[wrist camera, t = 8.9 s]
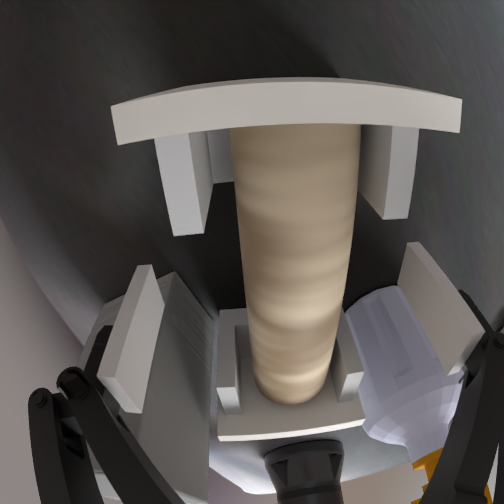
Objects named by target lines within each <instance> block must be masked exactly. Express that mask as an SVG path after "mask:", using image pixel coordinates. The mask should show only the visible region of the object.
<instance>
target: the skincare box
mask: <svg viewBox="0 0 504 504" xmlns="http://www.w3.org/2000/svg"><path fill="white" fill-rule="evenodd" d="M157 283H158V286H159V289H160V292H161V295H162V298H163V301H164V304H165V306H164V311H163V315H162V319H161V323H160V327H159V332H158V336H157V340H156V345H155V350H154V354H153V359H152V364H151V368H150V373H149V378H148V383H147V389H146V394H145V399H144V405H143V410H142V413H131V412H125V411H124V410H123V408H122V407H121V406H120V409H119V415H120V416H121V417H122V419H123V420H124V422H125V423H126V425H127V427H128V428H129V430H130V431H131V433H132V434H133V436H134V437H135V439H136V440H137V442H138V443H139V445H140V446H141V448H142V449H143V450H144V452H145V453H146V455H147V456H148V457H149V459H150V460H151V462H152V463H153V464H154V466H155V467H156V468H157V469H158V471H159V472H160V473H161V475H162V476H163V477H164V478H165V480H166V481H167V482H168V483H169V485H170V486H171V487H172V488H173V490H174V491H175V492H176V493H177V494H178V495H179V497H180V498H181V499H182V500H183V501H184V502H185V504H208V474H209V432H210V402H211V380H212V358H213V339H214V321H213V320H212V319H211V317H210V316H209V315H208V314H207V312H206V311H205V310H204V309H203V307H202V306H201V305H200V303H199V302H198V301H197V299H196V298H195V297H194V296H193V294H192V293H191V291H190V290H189V289H188V287H187V286H186V285H185V283H184V282H183V281H182V279H181V278H180V277H179V275H178V274H177V273H176V272H171V273H169V274H167V275H165V276H163V277H161V278H159V279H157ZM125 295H126V294H125ZM125 295H122V296H120V297H118V298H116V299H114V300H112V301H110V302H108V303H106V304H104V305H103V307H102V309H101V311H100V313H99V316H98V318H97V320H96V322H95V324H94V326H93V329H92V331H91V333H90V335H89V337H88V340H87V342H86V344H85V347H84V349H83V351H82V354H81V356H80V358H79V361H78V363H77V366H76V367H79V368H81V369H82V370H83V371H84V369H85V366H86V363H87V360H88V357H89V355H90V352H91V349H92V347H93V345H94V341H95V339H96V336H97V334H98V332H99V331H100V330H101V329H102V328H103V326H104V325H114V323H115V321H116V318H117V315H118V313H119V310H120V307H121V305H122V302H123V300H124V297H125ZM86 443H87V441H86ZM87 448H88V452H89V456H90V460H91V463H92V467H93V471H94V474H95V477H96V481H97V484H98V487H99V490H100V493H101V496H103V497H106V498H109V499H113V500H121V499H120V498H119V496H118V495H117V493H116V492H115V490H114V489H113V487H112V485H111V484H110V482H109V480H108V479H107V477H106V475H105V474H104V472H103V470H102V469H101V467H100V465H99V463H98V462H97V460H96V458H95V456H94V454H93V452H92V450H91V449H90V447H89V445H88V443H87Z"/></svg>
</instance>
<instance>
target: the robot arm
mask: <svg viewBox="0 0 504 504" xmlns="http://www.w3.org/2000/svg"><path fill="white" fill-rule="evenodd" d="M397 284H398V286H399V288H400V289H401V291H402V293H403V294H404V296H405V298H406V299H407V301H408V303H409V305H410V306H411V308H412V310H413V312H414V313H415V315H416V317H417V319H418V320H419V322H420V324H421V326H422V328H423V330H424V331H425V333H426V335H427V337H428V339H429V341H430V343H431V345H432V347H433V349H434V350H435V352H436V354H437V356H438V358H439V360H440V362H441V364H442V366H443V369H444V371H445V373H446V375H447V376H448V375H451V374H454V373H457V372H460V370H461V369H462V367H463V366H464V364H466V366H467V368H468V369H467V370H466V372H465V373H464V374H463V376H462V377H461V379H460V380H459V382H458V383H459V384H460V383H461V382H462V380H463V379H464V380H463V384H462V388H461V392H460V396H459V400H458V404H457V407H456V411H455V414H454V417H453V421H452V424H451V427H450V430H449V433H448V436H447V439H446V442H445V444H444V447H443V450H442V452H441V455H440V458H439V460H438V463H437V465H436V468H435V470H434V472H433V475H432V477H431V479H430V481H429V484H428V486H427V488H426V490H425V492H424V494H423V496H422V498H421V500H420V502H419V503H418V504H487V503H488V500H487V497H486V496H485V495H484V491H485V488H486V485H487V482H488V479H489V475H490V472H491V469H492V466H493V462H494V458H495V455H496V451H497V447H498V443H499V449H498V451H499V452H498V466H497V476H496V485H495V493H494V500H493V504H504V334H503V333H501V332H494V331H493V330H492V328H491V327H490V325H489V324H488V322H487V321H486V319H485V318H484V316H483V315H482V313H481V312H480V311H479V310H478V308H477V306H476V305H474V302H473V301H472V299H471V298H470V296H469V295H467V294H466V293H465V292H464V291H462V290H456V288H455V287H454V285H453V284H452V283H451V281H450V280H449V279H448V278H447V276H446V275H445V274H444V272H443V271H442V270H441V268H440V267H439V266H438V265H437V263H436V262H435V261H434V260H433V258H432V257H431V256H430V255H429V254H428V252H427V251H426V250H425V249H424V247H423V246H422V245H421V244H420V243H419V242H411V243H407V246H406V250H405V254H404V258H403V263H402V267H401V270H400V274H399V278H398V282H397ZM164 306H165V304H164V301H163V298H162V295H161V292H160V289H159V286H158V283H157V280H156V277H155V274H154V271H153V268H152V264H150V265H138V266H137V268H136V270H135V273H134V275H133V278H132V280H131V282H130V285H129V287H128V290H127V292H126V295H125V297H124V300H123V302H122V305H121V307H120V310H119V313H118V315H117V318H116V321H115V323H114V325H104V326H103V328H102V329H101V330H100V331H99V332H98V334H97V336H96V339H95V341H94V345H93V347H92V349H91V352H90V355H89V357H88V360H87V363H86V366H85V369H84V371H83V370H82V369H81V368H79V367H69V368H67V369H65V370H64V371H63V372H61V374H60V375H59V377H58V379H57V382H56V384H57V388H58V390H59V391H60V393H55V394H52V393H51V392H50V391H49V390H48V389H46V388H38V389H36V390H35V391H34V392H33V393H32V394H31V395H30V397H29V401H28V414H29V429H30V440H31V448H32V456H33V463H34V470H35V475H36V481H37V486H38V491H39V496H40V500H41V504H104V502H103V499H102V496H101V493H100V490H99V487H98V484H97V481H96V477H95V474H94V471H93V467H92V463H91V460H90V456H89V452H88V448H87V443H88V445H89V447H90V449H91V450H92V452H93V454H94V456H95V458H96V460H97V462H98V463H99V465H100V467H101V469H102V470H103V472H104V474H105V475H106V477H107V479H108V480H109V482H110V484H111V485H112V487H113V489H114V490H115V492H116V493H117V495H118V496H119V498H120V499H121V501H122V502H123V503H124V504H185V502H184V501H183V500H182V499H181V498H180V497H179V495H178V494H177V493H176V492H175V491H174V490H173V488H172V487H171V486H170V485H169V483H168V482H167V481H166V480H165V478H164V477H163V476H162V475H161V473H160V472H159V471H158V469H157V468H156V467H155V466H154V464H153V463H152V462H151V460H150V459H149V457H148V456H147V455H146V453H145V452H144V450H143V449H142V448H141V446H140V445H139V443H138V442H137V440H136V439H135V437H134V436H133V434H132V433H131V431H130V430H129V428H128V427H127V425H126V423H125V422H124V420H123V419H122V417H121V416H120V415H119V409H120V406H121V407H122V408H123V410H124V411H125V412H131V413H142V410H143V405H144V399H145V394H146V389H147V383H148V378H149V373H150V368H151V364H152V359H153V354H154V350H155V345H156V340H157V336H158V332H159V327H160V323H161V319H162V315H163V311H164ZM86 441H87V443H86ZM343 460H344V450H343V445H342V443H340V442H337V441H326V440H325V441H311V442H304V443H298V444H293V445H289V446H285V447H281V448H278V449H276V450H273V451H271V452H269V453H268V454H266V455H265V468H266V470H267V472H268V474H269V477H270V479H271V481H272V483H273V485H274V487H275V489H276V492H277V500H278V504H344V502H343V496H342V491H341V486H340V478H341V472H342V466H343Z"/></svg>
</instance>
